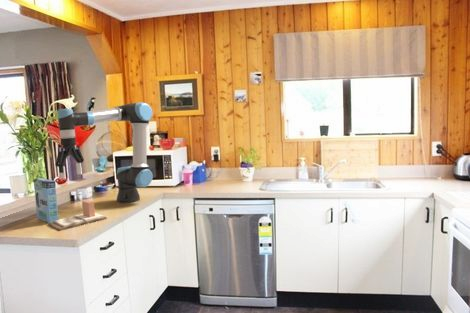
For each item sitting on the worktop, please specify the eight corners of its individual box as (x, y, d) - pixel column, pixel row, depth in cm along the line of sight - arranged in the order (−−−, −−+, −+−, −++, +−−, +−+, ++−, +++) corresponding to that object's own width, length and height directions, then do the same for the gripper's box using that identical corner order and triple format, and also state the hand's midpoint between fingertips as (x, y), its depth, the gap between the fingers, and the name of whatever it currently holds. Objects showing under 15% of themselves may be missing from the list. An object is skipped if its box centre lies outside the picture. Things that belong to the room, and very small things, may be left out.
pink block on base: (92, 213, 212) (90, 198, 211) (103, 217, 202) (102, 201, 201) (75, 217, 204) (73, 201, 203) (86, 221, 195) (84, 205, 194)
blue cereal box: (37, 218, 211) (32, 179, 208) (46, 216, 214) (42, 177, 212) (50, 224, 197) (45, 182, 195) (59, 221, 201) (55, 180, 199)
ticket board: (93, 214, 213) (93, 211, 213) (106, 219, 202) (106, 215, 202) (48, 225, 195) (47, 221, 195) (60, 230, 184) (59, 226, 184)
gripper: (76, 136, 211) (80, 172, 213) (45, 139, 186) (49, 180, 189) (88, 135, 209) (91, 172, 211) (57, 139, 185) (62, 180, 187)
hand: (71, 176), depth 200 cm, fingers open, 13 cm apart
